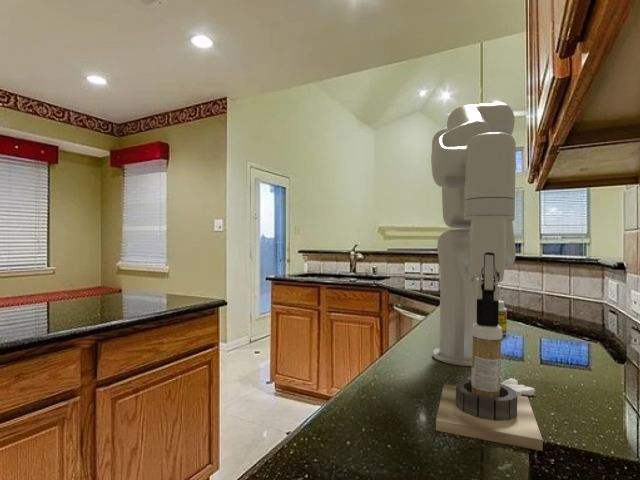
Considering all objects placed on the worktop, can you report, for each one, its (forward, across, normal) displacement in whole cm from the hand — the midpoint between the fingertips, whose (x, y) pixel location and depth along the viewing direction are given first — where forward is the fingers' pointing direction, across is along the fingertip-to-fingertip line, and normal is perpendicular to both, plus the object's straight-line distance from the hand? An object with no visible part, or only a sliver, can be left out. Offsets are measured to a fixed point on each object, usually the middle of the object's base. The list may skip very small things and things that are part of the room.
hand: (487, 324), depth 62 cm
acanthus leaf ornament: (+16, -15, +5) cm, 22 cm away
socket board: (+15, 0, 0) cm, 15 cm away
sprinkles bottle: (+14, 0, 0) cm, 14 cm away
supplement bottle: (+15, -66, +5) cm, 68 cm away
